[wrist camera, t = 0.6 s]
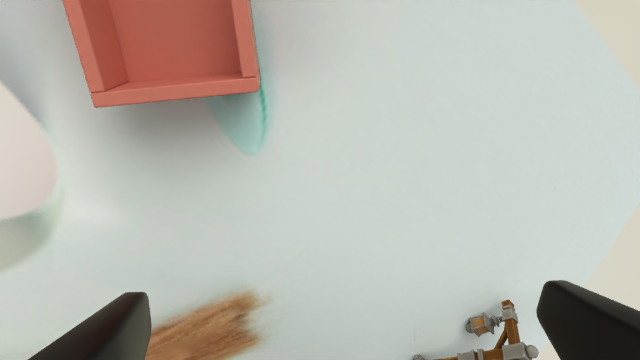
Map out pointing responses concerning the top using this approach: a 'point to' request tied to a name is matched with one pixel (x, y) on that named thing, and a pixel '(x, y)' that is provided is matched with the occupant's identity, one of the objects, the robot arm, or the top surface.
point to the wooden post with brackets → (512, 356)
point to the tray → (164, 49)
